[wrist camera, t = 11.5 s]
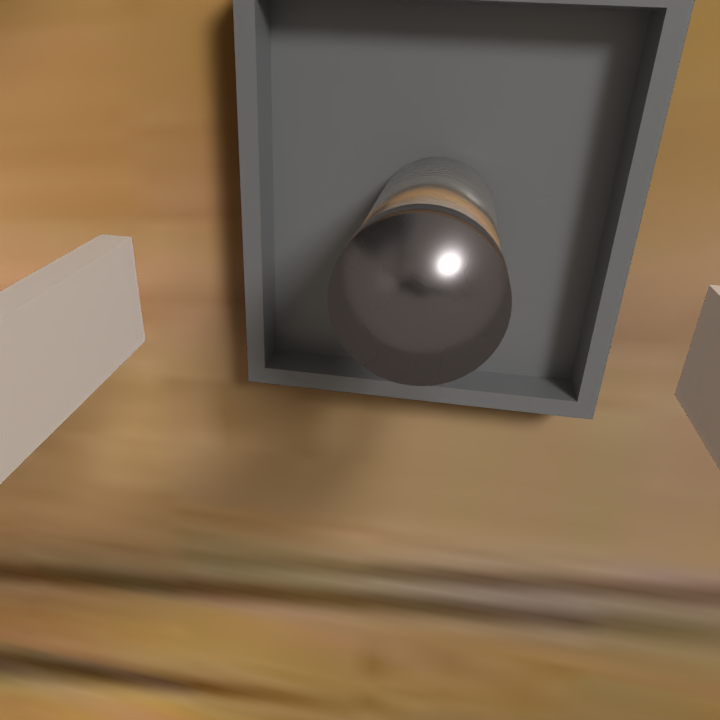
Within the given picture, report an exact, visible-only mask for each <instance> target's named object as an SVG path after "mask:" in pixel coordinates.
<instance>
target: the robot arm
mask: <svg viewBox="0 0 720 720" xmlns="http://www.w3.org/2000/svg"><path fill="white" fill-rule="evenodd" d="M144 342H145V336H144V328H143V321H142V313H141V306H140V298H139V290H138V283H137V275H136V268H135V260H134V252H133V245H132V237H126V236H114V235H102V234H101V235H99V236H97V237H96V238H94V239H92V240H90V241H88V242H87V243H85V244H83V245H81V246H80V247H78V248H76V249H74V250H73V251H71V252H69V253H67V254H66V255H64V256H62V257H60V258H59V259H57V260H55V261H53V262H51V263H50V264H48V265H46V266H44V267H43V268H41V269H39V270H37V271H36V272H34V273H32V274H30V275H29V276H27V277H25V278H23V279H22V280H20V281H18V282H16V283H14V284H13V285H11V286H9V287H7V288H6V289H4V290H2V291H0V484H1V483H2V482H3V481H4V480H5V479H6V478H7V477H8V476H9V475H10V474H11V473H12V472H13V471H14V470H15V469H16V468H17V467H18V466H19V465H20V464H21V463H22V462H23V461H24V460H25V459H26V458H27V457H28V456H29V455H30V454H31V453H32V452H33V451H34V450H35V449H36V448H37V447H38V446H39V445H40V444H41V443H42V442H43V441H44V440H45V439H46V438H47V437H49V436H50V435H51V434H52V433H53V432H54V431H55V430H56V429H57V428H58V427H59V426H60V425H61V424H62V423H63V422H64V421H65V420H66V419H67V418H68V417H69V416H70V415H71V414H72V413H73V412H74V411H75V410H76V409H77V408H78V407H79V406H80V405H81V404H82V403H83V402H84V401H85V400H86V399H87V398H88V397H89V396H90V395H91V394H92V393H93V392H94V391H95V390H96V389H97V388H98V387H99V386H100V385H101V384H102V383H103V382H104V381H105V380H106V379H107V378H108V377H109V376H110V375H111V374H112V373H113V372H114V371H115V370H116V369H117V368H118V367H119V366H120V365H121V364H122V363H123V362H124V361H126V360H127V359H128V358H129V357H130V356H131V355H132V354H133V353H134V352H135V351H136V350H137V349H138V348H139V347H140V346H141V345H142V344H143V343H144ZM675 396H676V397H677V399H678V401H679V402H680V404H681V406H682V408H683V409H684V411H685V413H686V414H687V416H688V418H689V419H690V421H691V423H692V424H693V426H694V428H695V429H696V431H697V433H698V434H699V436H700V438H701V440H702V441H703V443H704V445H705V446H706V448H707V450H708V451H709V453H710V455H711V456H712V458H713V460H714V461H715V463H716V465H717V467H718V468H719V470H720V286H716V285H709V288H708V291H707V294H706V297H705V300H704V303H703V307H702V310H701V313H700V316H699V319H698V322H697V326H696V329H695V332H694V335H693V338H692V341H691V344H690V348H689V351H688V354H687V357H686V360H685V363H684V367H683V370H682V373H681V376H680V379H679V382H678V386H677V389H676V392H675Z"/></svg>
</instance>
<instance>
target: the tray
mask: <svg viewBox="0 0 720 720" xmlns="http://www.w3.org/2000/svg"><path fill="white" fill-rule="evenodd" d="M694 1H695V0H233V18H234V43H235V67H236V91H237V115H238V139H239V164H240V188H241V212H242V236H243V260H244V285H245V309H246V333H247V357H248V381H250V382H259V383H268V384H277V385H286V386H295V387H304V388H313V389H322V390H331V391H340V392H349V393H358V394H367V395H376V396H385V397H394V398H403V399H412V400H421V401H430V402H439V403H448V404H457V405H466V406H475V407H484V408H493V409H502V410H511V411H520V412H529V413H538V414H547V415H556V416H565V417H574V418H583V419H593V415H594V411H595V407H596V403H597V399H598V395H599V391H600V387H601V383H602V378H603V374H604V370H605V366H606V362H607V358H608V354H609V350H610V346H611V342H612V337H613V333H614V329H615V325H616V321H617V317H618V313H619V309H620V305H621V301H622V296H623V292H624V288H625V284H626V280H627V276H628V272H629V268H630V264H631V260H632V255H633V251H634V247H635V243H636V239H637V235H638V231H639V227H640V223H641V219H642V214H643V210H644V206H645V202H646V198H647V194H648V190H649V186H650V182H651V178H652V173H653V169H654V165H655V161H656V157H657V153H658V149H659V145H660V141H661V136H662V132H663V128H664V124H665V120H666V116H667V112H668V108H669V104H670V100H671V95H672V91H673V87H674V83H675V79H676V75H677V71H678V67H679V63H680V59H681V54H682V50H683V46H684V42H685V38H686V34H687V30H688V26H689V22H690V18H691V13H692V9H693V5H694ZM426 157H447V158H452V159H455V160H458V161H460V162H463V163H465V164H466V165H468V166H470V167H471V168H472V169H474V170H475V171H476V172H477V173H478V174H479V175H480V176H481V177H482V178H483V180H484V181H485V183H486V184H487V186H488V188H489V190H490V192H491V194H492V197H493V201H494V206H495V212H496V219H497V225H498V232H499V238H500V245H501V252H502V254H503V256H504V259H505V262H506V265H507V269H508V275H509V280H510V286H511V292H512V309H511V317H510V321H509V325H508V328H507V330H506V333H505V335H504V338H503V339H502V341H501V343H500V345H499V346H498V348H497V349H496V350H495V352H494V353H493V354H492V355H491V356H490V357H489V358H488V359H487V360H486V361H485V362H484V363H483V364H482V365H481V366H480V367H478V368H477V369H476V370H474V371H473V372H471V373H469V374H467V375H466V376H464V377H461V378H459V379H457V380H454V381H451V382H448V383H444V384H439V385H433V386H410V385H404V384H398V383H395V382H392V381H388V380H386V379H383V378H381V377H379V376H377V375H375V374H373V373H372V372H370V371H368V370H367V369H365V368H364V367H363V366H361V365H360V364H359V363H357V362H356V361H355V360H354V359H353V358H352V357H351V356H350V355H349V353H348V352H347V351H346V350H345V349H344V347H343V346H342V344H341V343H340V341H339V339H338V338H337V336H336V333H335V331H334V329H333V327H332V323H331V320H330V317H329V311H328V298H327V295H328V285H329V281H330V277H331V273H332V270H333V268H334V265H335V263H336V261H337V260H338V258H339V256H340V254H341V253H342V251H343V249H344V248H345V246H346V244H347V243H348V241H349V240H350V239H351V237H352V236H353V235H354V233H355V232H356V231H357V230H358V229H359V228H360V227H361V226H362V224H363V223H364V221H365V219H366V217H367V216H368V214H369V212H370V211H371V209H372V207H373V206H374V204H375V202H376V201H377V199H378V197H379V196H380V194H381V192H382V190H383V189H384V187H385V185H386V184H387V182H388V181H389V180H390V178H391V177H392V176H393V175H394V174H395V173H396V172H397V171H398V170H400V169H401V168H402V167H404V166H405V165H407V164H409V163H411V162H413V161H416V160H418V159H422V158H426Z"/></svg>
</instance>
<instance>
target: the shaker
mask: <svg viewBox="0 0 720 720" xmlns="http://www.w3.org/2000/svg"><path fill="white" fill-rule="evenodd" d="M327 298H328V311H329V317H330V320H331V323H332V327H333V329H334V331H335V333H336V336H337V338H338V339H339V341H340V343H341V344H342V346H343V347H344V349H345V350H346V351H347V352H348V353H349V355H350V356H351V357H352V358H353V359H354V360H355V361H356V362H357V363H359V364H360V365H361V366H363V367H364V368H365V369H367V370H368V371H370V372H372V373H373V374H375V375H377V376H379V377H381V378H383V379H386V380H388V381H392V382H395V383H398V384H404V385H410V386H433V385H439V384H444V383H448V382H451V381H454V380H457V379H459V378H461V377H464V376H466V375H467V374H469V373H471V372H473V371H474V370H476V369H477V368H478V367H480V366H481V365H482V364H483V363H484V362H485V361H486V360H487V359H488V358H489V357H490V356H491V355H492V354H493V353H494V352H495V350H496V349H497V348H498V346H499V345H500V343H501V341H502V339H503V338H504V335H505V333H506V330H507V328H508V325H509V321H510V317H511V309H512V292H511V286H510V280H509V275H508V269H507V265H506V262H505V259H504V256H503V254H502V252H501V245H500V238H499V232H498V225H497V219H496V212H495V206H494V201H493V197H492V194H491V192H490V190H489V188H488V186H487V184H486V183H485V181H484V180H483V178H482V177H481V176H480V175H479V174H478V173H477V172H476V171H475V170H474V169H472V168H471V167H470V166H468V165H466V164H465V163H463V162H460V161H458V160H455V159H452V158H447V157H426V158H422V159H418V160H416V161H413V162H411V163H409V164H407V165H405V166H404V167H402V168H401V169H400V170H398V171H397V172H396V173H395V174H394V175H393V176H392V177H391V178H390V180H389V181H388V182H387V184H386V185H385V187H384V189H383V190H382V192H381V194H380V196H379V197H378V199H377V201H376V202H375V204H374V206H373V207H372V209H371V211H370V212H369V214H368V216H367V217H366V219H365V221H364V223H363V224H362V226H361V227H360V228H359V229H358V230H357V231H356V232H355V233H354V235H353V236H352V237H351V239H350V240H349V241H348V243H347V244H346V246H345V248H344V249H343V251H342V253H341V254H340V256H339V258H338V260H337V261H336V263H335V265H334V268H333V270H332V273H331V277H330V281H329V285H328V295H327Z"/></svg>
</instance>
